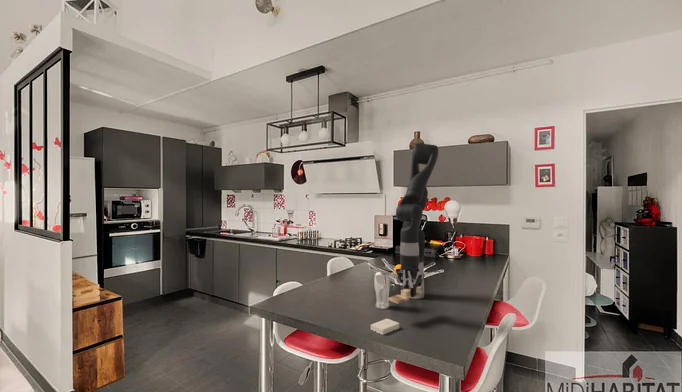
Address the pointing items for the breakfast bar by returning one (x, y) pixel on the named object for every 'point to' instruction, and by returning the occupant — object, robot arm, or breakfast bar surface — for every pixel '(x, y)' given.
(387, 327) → the tile
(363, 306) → the breakfast bar surface
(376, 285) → the beer glass
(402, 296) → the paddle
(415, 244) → the robot arm
